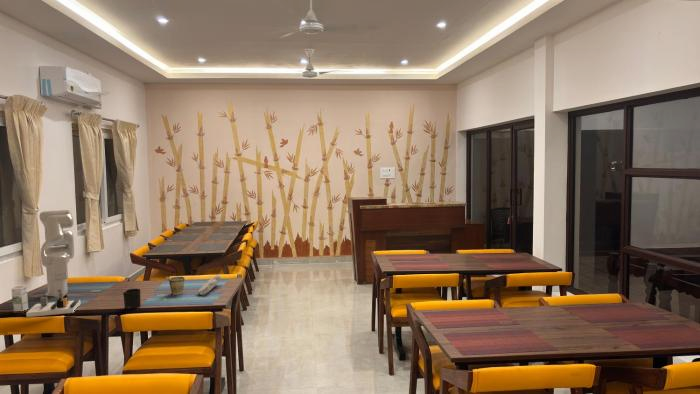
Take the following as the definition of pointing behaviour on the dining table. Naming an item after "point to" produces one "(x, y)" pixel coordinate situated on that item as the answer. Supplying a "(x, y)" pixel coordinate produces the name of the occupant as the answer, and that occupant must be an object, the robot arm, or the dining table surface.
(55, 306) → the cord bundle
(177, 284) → the ceramic cup
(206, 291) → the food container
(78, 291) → the dining table surface
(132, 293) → the pen holder
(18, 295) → the syrup box
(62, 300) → the breaker
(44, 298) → the on breaker
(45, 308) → the breaker panel
